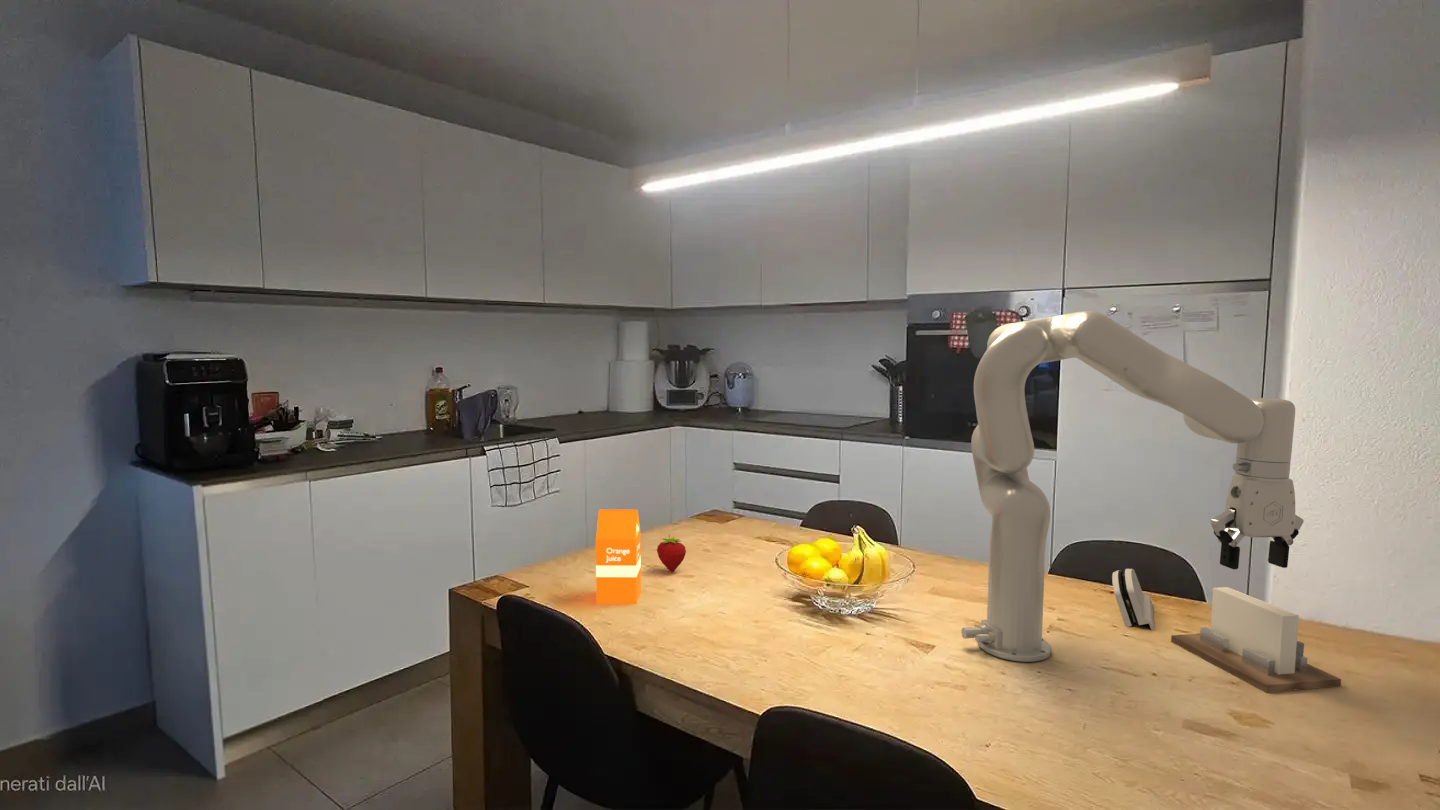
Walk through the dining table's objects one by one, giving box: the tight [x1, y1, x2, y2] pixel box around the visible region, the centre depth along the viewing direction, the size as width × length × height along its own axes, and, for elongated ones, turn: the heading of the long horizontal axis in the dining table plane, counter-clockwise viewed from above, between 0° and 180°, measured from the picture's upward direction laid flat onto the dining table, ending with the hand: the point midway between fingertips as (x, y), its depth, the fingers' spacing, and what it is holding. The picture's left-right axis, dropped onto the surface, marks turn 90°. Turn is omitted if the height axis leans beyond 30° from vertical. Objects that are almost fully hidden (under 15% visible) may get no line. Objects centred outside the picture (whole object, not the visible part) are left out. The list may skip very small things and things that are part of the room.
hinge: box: [1111, 568, 1155, 631], centre depth 149 cm, size 17×5×10 cm, turn 150°
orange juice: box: [595, 509, 642, 605], centre depth 159 cm, size 8×9×20 cm
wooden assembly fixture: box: [1170, 627, 1342, 693], centre depth 126 cm, size 14×20×5 cm
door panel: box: [1210, 586, 1299, 674], centre depth 126 cm, size 3×14×10 cm, turn 8°
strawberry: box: [656, 535, 687, 573], centre depth 177 cm, size 6×8×10 cm
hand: (1253, 566), depth 125 cm, fingers open, 9 cm apart
